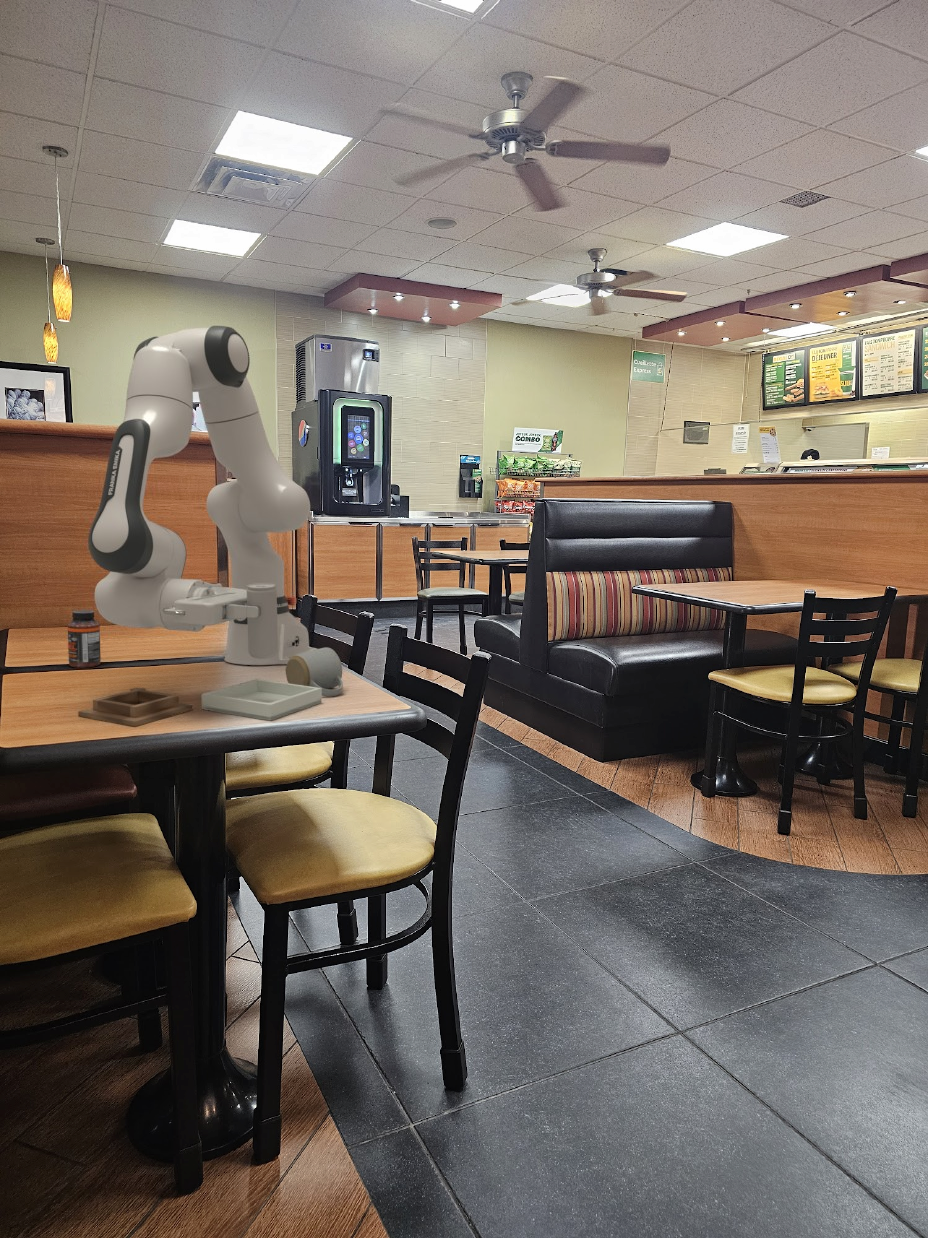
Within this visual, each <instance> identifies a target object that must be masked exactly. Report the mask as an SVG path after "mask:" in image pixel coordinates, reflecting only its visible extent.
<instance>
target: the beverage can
mask: <svg viewBox="0 0 928 1238" xmlns="http://www.w3.org/2000/svg"><path fill="white" fill-rule="evenodd" d="M275 586H276V585H274V584H268V583H257V584H250V585H248V586H247V587H248V589H247V606H259V607H260V608H261V615H260V616H259V617H256V618H250V617H247V622H248V649H249V654H250V656H251V657H253V658H257V659H266V658H272V657H274V656H276V654H277V653H278V632H277V590H276V588H275Z"/></svg>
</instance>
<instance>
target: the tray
mask: <svg viewBox="0 0 928 1238" xmlns="http://www.w3.org/2000/svg"><path fill="white" fill-rule="evenodd" d="M322 699H323V696H322V688H317V687H310V686H303V685H296V684H289V683H287V682H281V681H274V680H273V681H272V680H268V679H259V678H255V679H252V680H249V681H245V682H244V681H243V682H241V683H238V684H237V683H236V684H233V685H229V686H226V687H223V688H218V689H215V690H211V691H207V692H204V693H201V710H202V709H204V710H203V711H208V710H210V711H209V712H214V713H221V714H227V715H231V716H232V715H233V716H239V717H243V718H249V719H251V718H252V719H255V720H256V719H257V720H261V721H270V722H271V721H274V720H277V719H280V718H283V717H285V716H288V715H291V714H294V713H297V712H299V711H302V710H306V709H308V708H311V707H314V706H316V705H318V704H322V701H323V700H322Z"/></svg>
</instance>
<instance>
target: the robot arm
mask: <svg viewBox="0 0 928 1238" xmlns="http://www.w3.org/2000/svg"><path fill="white" fill-rule="evenodd" d="M250 360H251V359H250V353H249V349H248V345H247V343H246V341H245V338H243V337H242V335H241V334H240V333H238V331H236V330H235V329H234V328H233V327H231V326H225V325H211V326H210V327H196V328H195V327H194V328H193V327H192V328H186V329H185V328H184V329H182V330H179V331H176V332H175V331H174V332H171V333H168V334H164V335H161V336H153V337H149V338H147V339H145V340H144V341H141V342H140V343H139V344H138V345H137V347H136V348H135V352H134V355H133V361H132V365H131V369H130V372H129V378H128V383H127V388H126V389H127V390H126V399H125V411H124V417H123V420H122V423H121V424H120V425H119V426H118V427H117V429H116V431H115V432H114V436H113V439H112V442H111V447H110V451H109V456H108V463H107V467H106V472H105V477H104V483H103V489H102V494H101V498H100V503H99V507H98V509H97V512H96V515H95V516H94V519H93V521H92V524H91V526H90V528H89V531H88V537H87V545H88V546H87V547H88V550H89V553H90V555H91V557H92V559H93V561H94V562H95V564H97V566H99V567H100V568H102V569H103V570H105V571H108V572H109V573H108V574H107V575H106V576H105V577H104V578H101V580H99V582H98V583H97V584H96V585H95V590H94V602H95V605H96V609H97V611H98V613H99V614H100V616H102V618H103V619H105V621H107V622H110V623H111V624H114V625H117V626H120V627H128V628H134V629H135V628H137V629H154V628H163V629H165V630H168V631H179V632H181V631H182V632H191V633H192V632H195V633H198V632H200V631H202V630H203V629H204V628H205V627H208V626H216V625H220V624H224V623H226V622H228V626H227V627H228V628H227V638H226V647H225V648H226V649H225V650H224V651H223V655H222V656H223V657H224V659H223V660H224V661H225V662H227V663H230V664H234V665H235V664H236V665H243V666H248V665H249V666H269V665H287V663H288V661H289V659H290V658H291V657H293V656H295V655H297V654H300V653H304V652H309V651H313V650H317V649H318V648H316V647H311V646H310V639H309V632H308V628H307V626H305V625H304V624H303V623H301V622H300V620H298V619H297V618H296V617H295V616H294V615H293V614H292V613H290V611H291V610H290V607H289V606H297V605H296V604H297V602H298V601H297V598H296V596H288V595H287V596H286V595H285V563H284V560H283V557H282V556H281V555H280V554H279V553H278V552H277V551H275V549H274V547H273V546H272V544H271V541H270V539H269V535H268V533H270V534H271V533H272V534H273V533H274V534H275V533H276V534H282V533H287V532H292V531H296V530H299V529H301V528H302V527H304V526H305V524H306V523H307V521H308V520H309V517H310V514H311V502H310V497H309V495H308V493H307V491H306V490H305V489H304V488H303V487H302V486H301V485H299V484H297V483H296V482H295V481H294V480H293V479H292V478H291V477H290V476H289V475H288V474H287V473H286V471H285V470H284V468H283V467H282V466H281V464H280V463H279V461H278V459H277V458H276V456H275V454H274V453H273V451H272V449H271V446H270V444H269V443H270V442H269V441H268V438H267V433H266V432H265V431H266V430H265V428H264V424H263V421H262V417H261V413H260V410H259V406H258V403H257V400H256V396H255V394H254V391H253V389H252V387H251V384H250V381H249V379H248V377H247V375H248V372H249V369H250V363H251V362H250ZM194 393H197V394H198V399H199V403H200V404H199V405H200V408H201V414H202V418H203V421H204V423H205V426H206V427H205V428H206V431H207V434H208V437H209V440H210V444H211V447H212V451H213V454H214V456H215V459H216V460H217V461H218V463H219V464H221V465H222V466H223V467H224V468H226V469H227V470H229V472H230V473H231V474H232V475H233V477H234V478H235V479H236V480H234V479H233V480H229V481H226V482H223V483H219V484H217V485H215V486H214V487H212V488H211V490H210V491H209V493H208V495H207V499H206V511H207V514H208V517H209V518H210V520H211V521H212V522H213V524H215V525H216V526H217V528H218V529H219V530H220V532H221V535H222V537H223V539H224V541H225V545H226V547H227V551H228V555H229V560H230V573H231V587H228V586H223V585H222V583H217V582H207V581H203V579H191V578H190V579H189V578H182V576H183V575H184V574H183V573H184V569H185V565H186V561H187V547H186V545H185V542H184V540H183V538H182V537H181V536H180V535H179V534H178V533H177V532H175V531H173V530H171V529H169V528H167V527H165V526H162V525H161V524H157V523H155V522H153V521H151V520H149V519H148V517H147V516H146V515H145V512H144V509H143V507H144V498H145V493H146V487H147V480H148V476H149V475H148V474H149V468H150V466H151V464H152V462H153V461H154V459H160V458H161V459H162V458H169V457H172V456H175V455H176V454H178V453H180V452H181V451H182V450H184V449H185V447H187V445H188V444H189V440H190V438H191V434H192V428H193V418H194V417H193V413H194ZM257 583H268V584H274V585H276V586H275V588H276V590H277V632H278V653H277V654H276V656H274V657H272V658H266V659H257V658H253V657H251V656H250V654H249V649H248V622H247V617H250V618H256V617H259V616H260V615H261V608H260V607H259V606H247V589H248V587H247V586H248V585H250V584H257Z"/></svg>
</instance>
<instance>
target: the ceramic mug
mask: <svg viewBox="0 0 928 1238" xmlns="http://www.w3.org/2000/svg"><path fill="white" fill-rule="evenodd" d="M285 677H286V680H287V682H288V683H289V684H296V685H303V686H310V687H317V688H322V697H326V698H328V697H329V698H331V697H332V696H334V697H337V696H339V695H341V694H342V692H343V691H342V690H343V688H344V682H343V679H342V678H343V667H342V662H341V659H340V657H339V656H338V654H337V653H336V651H335V650H334V649H332V648H330V647H325V646H324V647H322V648H321V647H320V648H317V650H313V651H309V652H304V653H300V654H297V655H295V656H293V657H291V658H290V659H289V661H288V663H287V664H286V666H285ZM336 687H338V688H336ZM333 688H335V689H333Z"/></svg>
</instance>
